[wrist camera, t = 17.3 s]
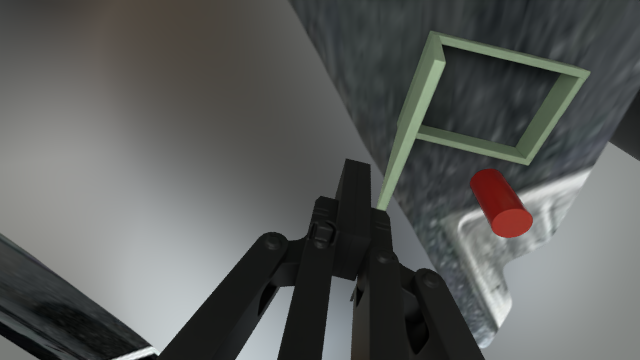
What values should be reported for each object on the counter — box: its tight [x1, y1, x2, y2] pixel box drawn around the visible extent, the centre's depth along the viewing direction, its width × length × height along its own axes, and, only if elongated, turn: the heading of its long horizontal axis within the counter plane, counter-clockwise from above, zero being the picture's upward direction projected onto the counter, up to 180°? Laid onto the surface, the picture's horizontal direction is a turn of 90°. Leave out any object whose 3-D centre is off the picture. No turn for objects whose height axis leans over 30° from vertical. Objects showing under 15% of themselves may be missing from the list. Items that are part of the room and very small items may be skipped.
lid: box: [376, 34, 446, 211], centre depth 33 cm, size 21×14×1 cm
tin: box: [470, 169, 533, 238], centre depth 48 cm, size 5×5×12 cm
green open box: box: [397, 31, 591, 165], centre depth 44 cm, size 20×14×5 cm
